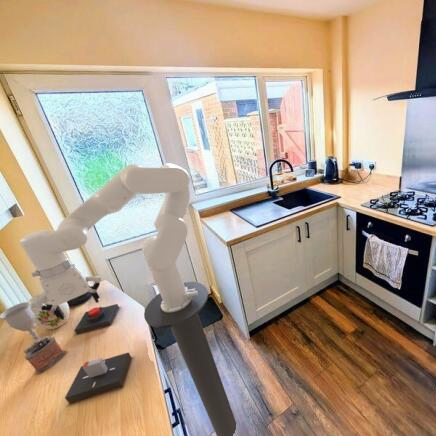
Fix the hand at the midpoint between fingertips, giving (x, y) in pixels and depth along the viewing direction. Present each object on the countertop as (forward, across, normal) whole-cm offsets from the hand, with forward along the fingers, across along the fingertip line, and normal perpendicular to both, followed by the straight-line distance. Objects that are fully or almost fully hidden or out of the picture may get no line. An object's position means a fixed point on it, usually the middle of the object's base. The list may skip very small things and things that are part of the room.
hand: (80, 308), depth 84 cm
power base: (+16, +1, +14) cm, 21 cm away
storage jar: (+16, -3, +37) cm, 41 cm away
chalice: (+16, -16, +16) cm, 28 cm away
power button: (+13, +1, +13) cm, 19 cm away
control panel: (+16, -2, -19) cm, 25 cm away
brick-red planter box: (+16, -14, +3) cm, 22 cm away
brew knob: (+13, -2, -19) cm, 23 cm away
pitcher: (+16, -12, +26) cm, 33 cm away
